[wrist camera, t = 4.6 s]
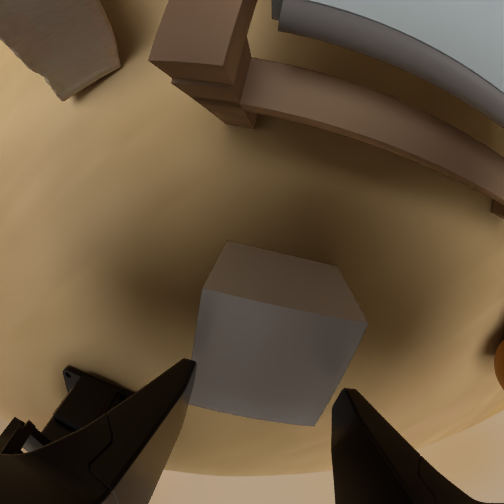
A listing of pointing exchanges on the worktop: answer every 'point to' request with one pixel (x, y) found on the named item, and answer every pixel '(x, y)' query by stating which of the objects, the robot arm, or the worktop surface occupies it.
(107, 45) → the grey block
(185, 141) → the worktop surface
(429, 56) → the trapdoor
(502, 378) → the ornamental finial
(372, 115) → the stand
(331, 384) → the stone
